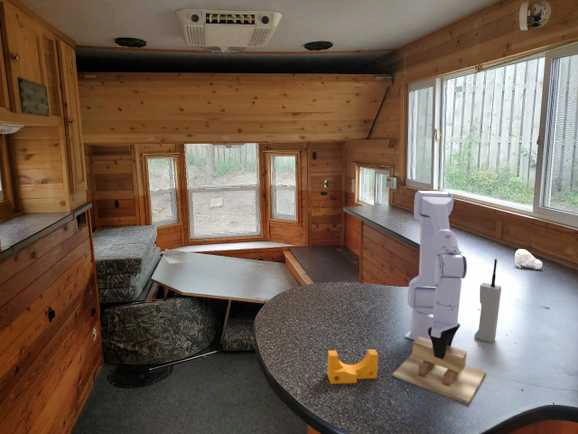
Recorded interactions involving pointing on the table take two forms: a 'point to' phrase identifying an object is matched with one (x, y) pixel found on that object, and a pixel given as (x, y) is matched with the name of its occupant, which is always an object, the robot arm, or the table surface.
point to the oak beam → (451, 360)
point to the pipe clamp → (351, 368)
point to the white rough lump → (526, 259)
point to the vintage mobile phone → (489, 309)
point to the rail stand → (441, 378)
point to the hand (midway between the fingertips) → (441, 353)
